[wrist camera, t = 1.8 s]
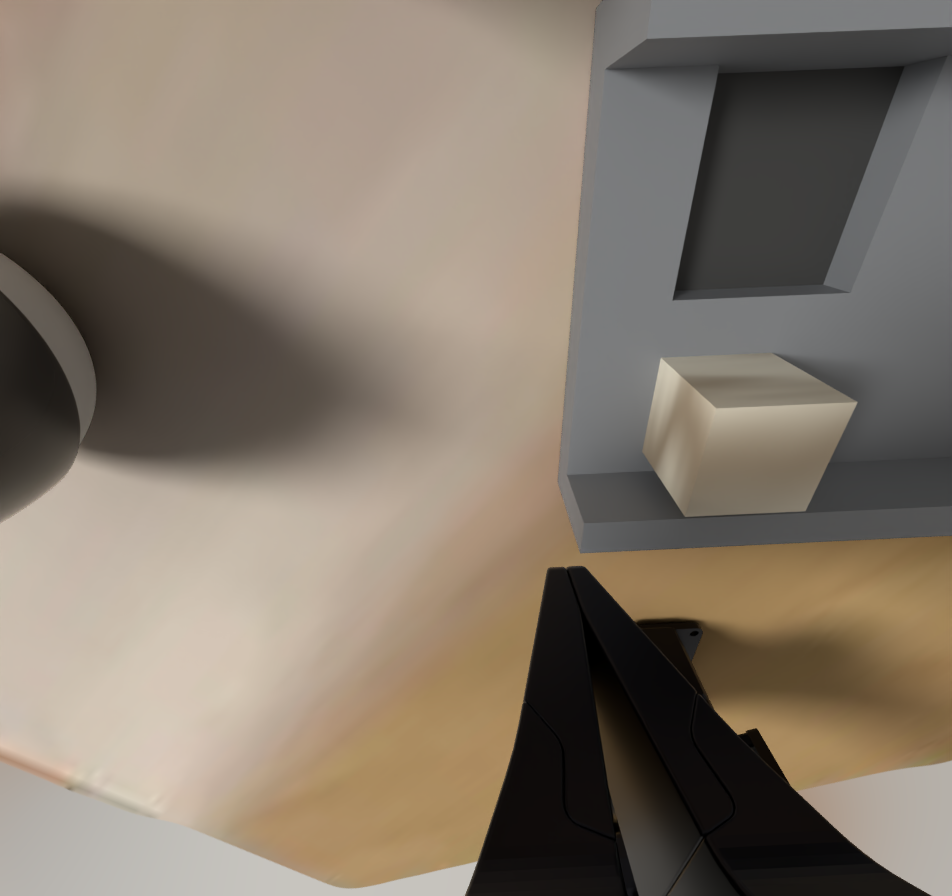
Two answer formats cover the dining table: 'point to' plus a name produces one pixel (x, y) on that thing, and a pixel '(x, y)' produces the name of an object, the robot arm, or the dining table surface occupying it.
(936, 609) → the dining table surface
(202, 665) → the dining table surface
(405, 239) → the dining table surface
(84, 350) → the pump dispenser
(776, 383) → the birch block
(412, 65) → the dining table surface
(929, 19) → the box
